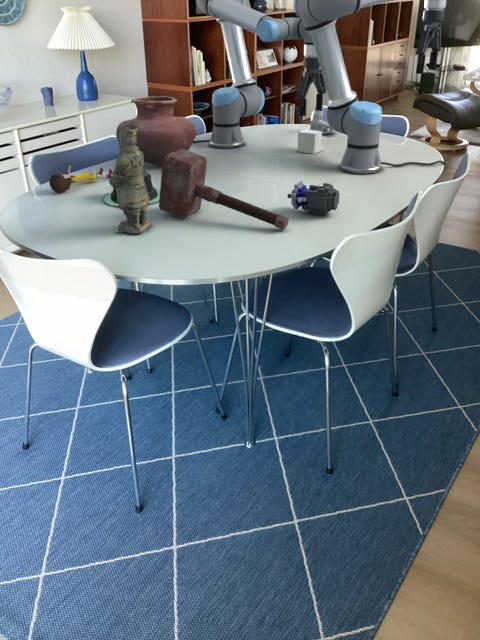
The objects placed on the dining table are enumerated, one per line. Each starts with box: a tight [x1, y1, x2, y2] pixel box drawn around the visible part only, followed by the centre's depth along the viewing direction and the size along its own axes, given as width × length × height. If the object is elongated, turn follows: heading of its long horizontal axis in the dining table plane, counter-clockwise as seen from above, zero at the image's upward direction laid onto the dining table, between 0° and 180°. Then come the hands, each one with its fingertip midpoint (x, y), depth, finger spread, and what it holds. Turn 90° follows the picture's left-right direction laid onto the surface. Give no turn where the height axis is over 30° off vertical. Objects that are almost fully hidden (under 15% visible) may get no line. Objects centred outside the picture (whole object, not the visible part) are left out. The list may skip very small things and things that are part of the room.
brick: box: [296, 128, 323, 155], centre depth 235 cm, size 6×8×8 cm
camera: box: [309, 105, 337, 135], centre depth 263 cm, size 9×12×15 cm
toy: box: [287, 180, 341, 216], centre depth 168 cm, size 9×9×15 cm
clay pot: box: [115, 95, 197, 166], centre depth 218 cm, size 30×30×25 cm
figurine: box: [48, 164, 113, 193], centre depth 199 cm, size 13×8×25 cm
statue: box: [108, 121, 153, 235], centre depth 154 cm, size 11×9×30 cm
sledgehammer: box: [158, 149, 290, 231], centre depth 163 cm, size 17×10×40 cm
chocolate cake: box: [103, 168, 160, 207], centre depth 186 cm, size 15×19×20 cm
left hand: (310, 113), depth 230 cm, fingers open, 13 cm apart
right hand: (425, 71), depth 216 cm, fingers open, 13 cm apart
